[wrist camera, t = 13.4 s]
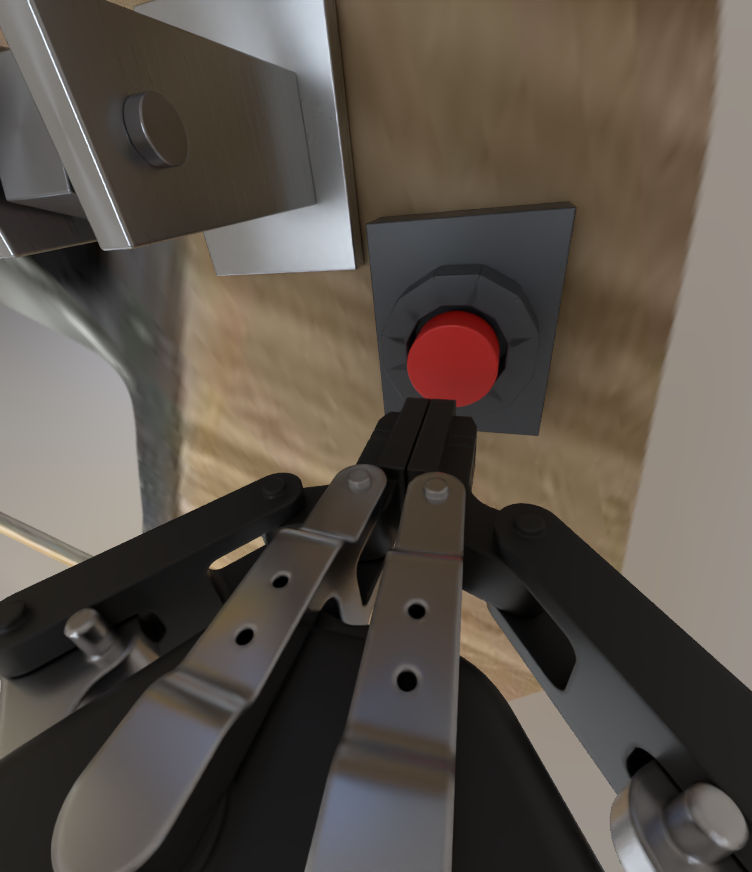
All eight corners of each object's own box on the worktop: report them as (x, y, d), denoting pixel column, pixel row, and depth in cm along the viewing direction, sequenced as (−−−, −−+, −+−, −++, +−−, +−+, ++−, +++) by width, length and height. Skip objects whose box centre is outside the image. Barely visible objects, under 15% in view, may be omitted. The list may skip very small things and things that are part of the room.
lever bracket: (153, 14, 16) (-336, -176, 7) (331, -39, 14) (-48, -435, 4) (229, 271, 22) (16, 356, 12) (364, 264, 19) (225, 363, 10)
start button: (413, 310, 16) (404, 324, 15) (503, 309, 15) (501, 324, 14) (416, 387, 18) (408, 405, 17) (496, 390, 17) (494, 410, 16)
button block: (379, 217, 18) (350, 230, 15) (570, 201, 16) (583, 212, 12) (395, 405, 23) (376, 443, 20) (536, 413, 21) (540, 458, 18)
